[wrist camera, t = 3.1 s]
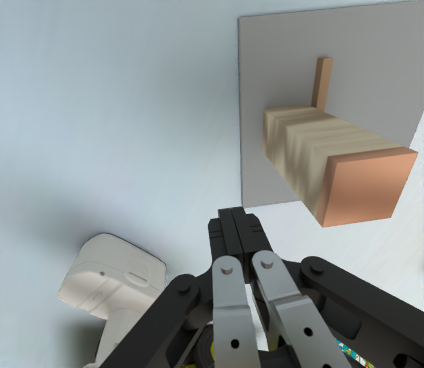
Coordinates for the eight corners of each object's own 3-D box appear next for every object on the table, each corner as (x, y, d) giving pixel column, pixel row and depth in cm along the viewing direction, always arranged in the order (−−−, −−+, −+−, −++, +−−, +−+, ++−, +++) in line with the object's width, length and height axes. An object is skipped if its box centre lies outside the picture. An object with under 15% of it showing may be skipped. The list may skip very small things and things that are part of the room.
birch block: (263, 109, 25) (337, 163, 13) (306, 104, 25) (418, 152, 13) (262, 150, 27) (322, 227, 16) (301, 146, 28) (390, 217, 16)
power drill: (44, 192, 28) (-386, 628, 7) (186, 270, 39) (188, 539, 17) (13, 231, 31) (-373, 640, 9) (154, 294, 41) (123, 556, 20)
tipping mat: (237, 18, 21) (242, 15, 19) (458, -3, 22) (483, -8, 20) (241, 204, 33) (245, 213, 31) (387, 184, 34) (399, 192, 32)
